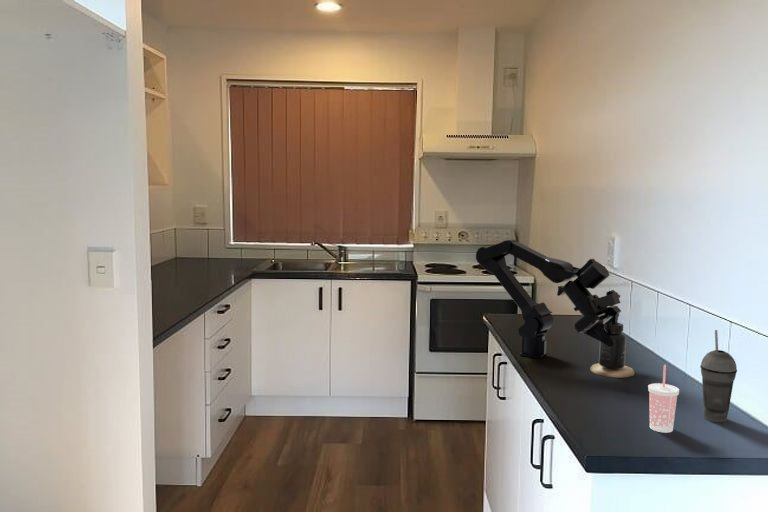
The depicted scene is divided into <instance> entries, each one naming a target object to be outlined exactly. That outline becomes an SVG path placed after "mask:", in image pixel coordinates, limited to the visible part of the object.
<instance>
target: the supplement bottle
mask: <svg viewBox="0 0 768 512" xmlns="http://www.w3.org/2000/svg"><path fill="white" fill-rule="evenodd" d="M604 329H605V331H606V332H607V334H608V336H609V337H610V339H611V340H612V342H613V344H614V345H613V346H612V347H609V346H608V345H606V344H604V343H602V342H600V341H599V349H598V351H599V353H598V363H599V364H600V365H601V366H602V367H605V368H611V369H620V368H623V367H624V366H626V365H625V362H626V350H627V349H626V348H627V336H626V335H625V334H624V333H623V332H624V323H621V322H618V323H616V322H606V323H605V327H604Z"/></svg>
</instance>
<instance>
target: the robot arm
mask: <svg viewBox="0 0 768 512" xmlns="http://www.w3.org/2000/svg"><path fill="white" fill-rule="evenodd" d="M509 255H511V256H513V257H515V258H517V259H519V260H521V261H523V262H525V264H528V265H530V266H532V267H534V268H536V269H538V270H539V271H540V273H542V275H543V276H544V277H545V278H547V279H548V280H550V282H552V283H554V284H560V283H565V282H566V283H565V284H564V285H558V286H557V294H556V295H557V297H559V296H564V295H565V296H566V297H567V298H568V299H569V301H571V303H572V305H574V307H573V310H574V311H575V312H579V313H580V314H581V315H582V317H580V318H579V320H577V321H576V322H575V323H574V330H575V331H576V332H577V334H581V333H583V334H584V335H586V336H589V337H591V338H593V339H594V340H597V341H599V343H600V342H602V343H604V344H606V345H608V346H609V347H612V346H613V345H614V344H613V342H612V340H611V339H610V337H609V336H608V334H607V332H606V331H605V329H604V327H605V323H606V322H616V323H619V322H618V321H619V316H620V313H622V310H621V309H620V308H619V306H618V304H621V300H620V298H621V294H619V293H618V292H617V291H615V289H612V290H609V291H606V295H603V296H601V297H599V296H598V295H597V294H592V293H591V291H590V290H589V289H592V290H595V289H596V288H597V287H598V286H599V285H601V283H602V282H604V281H605V280H606V279H607V278H609V277H610V273H609V270H608V269H607V267H606V266H605V265H603V264H602V263H600V262H599V261H597V260H595V258H590V259H588V260H587V261H586V262H585V264H584V265H582V266H581V267H580V268H579V267H577V266H574V265H573V264H572V263H570V262H569V261H565V260H564V259H563V260H562V259H558V258H554V257H550V256H546V255H544V254H542V253H541V252H539V251H537V250H535V249H534V248H531V247H529V246H526V245H525V244H523V243H521V242H519V241H518V240H516V239H514V238H513V239H512V238H511V239H505V240H503V241H501V242H498V243H496V244H493V245H487V246H482V247H479V248H478V249H477V250H476V253H475V260H476V262H477V263H478V264H479V265H480V266H481V267H482V268H483V269H484V270H485V271H487V272H489V273H491V274H492V275H493V276H494V277H495V278H496V279H497V281H498V282H499V283H500V285H501V286H502V287H503V288H504V290H505V291H506V293H508V295H509V297H510V298H511V299H512V300H513V302H514V303H515V304H516V305H517V307H518V309H520V312H521V317H522V321H523V322H524V324H523V325H521V326H520V327H519V328H518V329H517V330H518V333H519V336H520V337H521V352H520V353H519V356H522V357H523V356H524V357H530V358H539V359H541V358H543V357H544V356H545V355H546V354H547V343H548V342H547V340H546V334H548V332H549V330H550V329H551V328H552V326H553V324H554V316H553V315H552V313H553V311H551V310H550V309H549V308H548V307H547V305H546V304H545V302H540V303H537V302H536V301H534V299H533V298H532V297H531V295H530V294H529V293H528V292H527V290H526V289H525V287H524V286H523V285H522V284H521V282H520V281H519V280H518V279H517V277H516V276H515V275H514V274H513V272H512V271H511V270H510V268H509V267H508V265H507V261H506V257H507V256H509ZM574 278H575V279H574ZM572 279H574V280H572Z"/></svg>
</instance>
